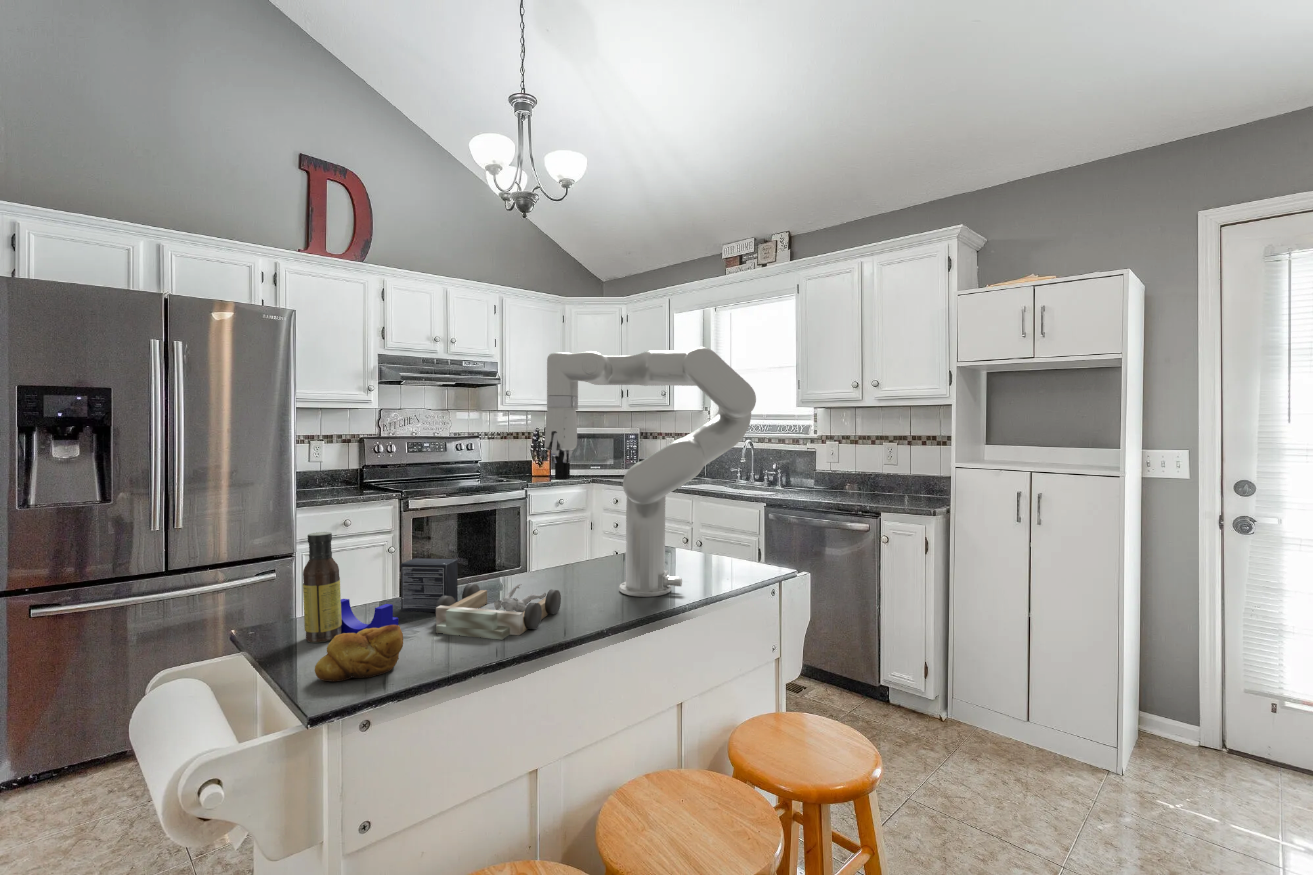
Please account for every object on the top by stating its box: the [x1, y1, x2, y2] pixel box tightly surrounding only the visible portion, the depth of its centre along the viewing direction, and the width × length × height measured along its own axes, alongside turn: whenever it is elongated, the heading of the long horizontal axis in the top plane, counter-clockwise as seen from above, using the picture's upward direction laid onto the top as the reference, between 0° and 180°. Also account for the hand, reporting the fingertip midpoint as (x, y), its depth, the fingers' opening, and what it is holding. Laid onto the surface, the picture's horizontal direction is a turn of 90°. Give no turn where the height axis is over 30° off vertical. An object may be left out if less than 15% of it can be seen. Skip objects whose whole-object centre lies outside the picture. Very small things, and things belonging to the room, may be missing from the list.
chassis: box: [434, 583, 562, 640], centre depth 130 cm, size 21×20×5 cm
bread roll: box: [314, 624, 404, 682], centre depth 103 cm, size 13×10×8 cm
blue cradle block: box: [341, 598, 399, 634], centre depth 122 cm, size 12×4×6 cm, turn 71°
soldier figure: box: [493, 583, 547, 612], centre depth 136 cm, size 8×5×12 cm
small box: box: [400, 557, 459, 613], centre depth 138 cm, size 11×6×10 cm, turn 84°
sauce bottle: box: [302, 531, 342, 644], centre depth 119 cm, size 6×6×20 cm
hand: (562, 478), depth 154 cm, fingers closed
